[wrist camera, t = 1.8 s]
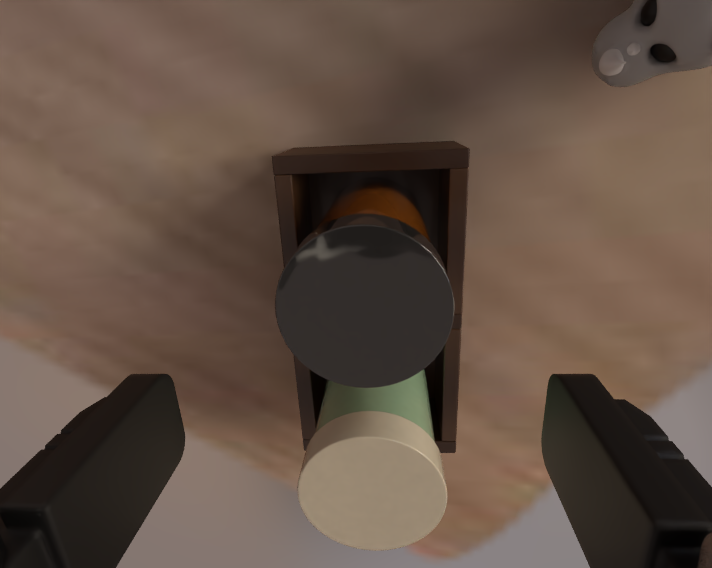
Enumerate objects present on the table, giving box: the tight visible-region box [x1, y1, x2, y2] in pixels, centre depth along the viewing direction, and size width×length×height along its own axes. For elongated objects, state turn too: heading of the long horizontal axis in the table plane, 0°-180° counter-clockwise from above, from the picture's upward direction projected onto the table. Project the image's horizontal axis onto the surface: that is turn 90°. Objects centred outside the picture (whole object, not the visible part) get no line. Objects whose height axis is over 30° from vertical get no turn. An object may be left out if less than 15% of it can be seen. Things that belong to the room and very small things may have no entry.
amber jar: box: [275, 178, 455, 388], centre depth 19 cm, size 6×6×11 cm
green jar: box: [297, 369, 447, 550], centre depth 22 cm, size 6×6×11 cm
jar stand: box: [272, 141, 470, 453], centre depth 24 cm, size 16×8×5 cm, turn 3°
